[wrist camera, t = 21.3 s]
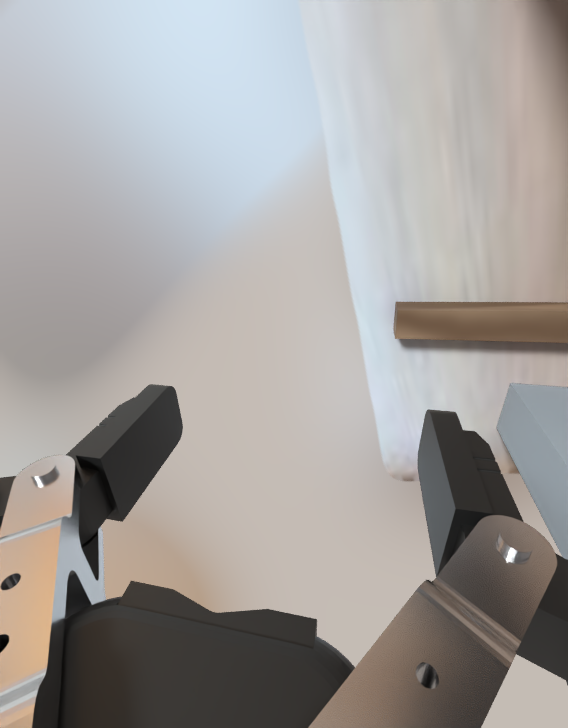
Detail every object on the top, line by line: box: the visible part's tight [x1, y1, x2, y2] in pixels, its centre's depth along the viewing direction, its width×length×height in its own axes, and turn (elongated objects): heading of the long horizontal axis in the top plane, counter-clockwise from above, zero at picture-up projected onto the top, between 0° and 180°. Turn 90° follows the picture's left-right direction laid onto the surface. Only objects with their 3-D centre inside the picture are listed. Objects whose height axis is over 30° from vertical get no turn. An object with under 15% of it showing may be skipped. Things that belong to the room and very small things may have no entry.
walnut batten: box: [393, 302, 568, 343], centre depth 34 cm, size 3×22×3 cm, turn 93°
